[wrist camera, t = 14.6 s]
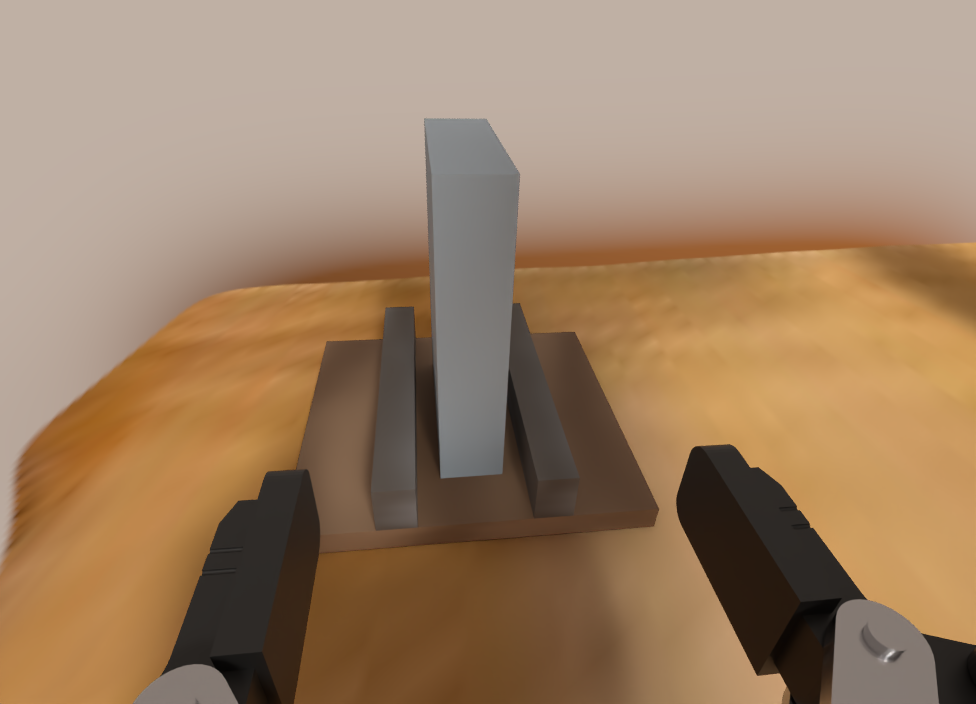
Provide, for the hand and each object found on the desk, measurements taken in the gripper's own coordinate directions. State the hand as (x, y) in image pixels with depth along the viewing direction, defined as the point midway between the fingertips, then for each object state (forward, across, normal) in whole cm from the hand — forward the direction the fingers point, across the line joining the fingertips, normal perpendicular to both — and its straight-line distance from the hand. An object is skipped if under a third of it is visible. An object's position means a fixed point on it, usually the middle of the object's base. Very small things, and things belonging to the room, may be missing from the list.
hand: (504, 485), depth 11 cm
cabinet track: (+12, 0, +9) cm, 15 cm away
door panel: (+12, 0, +8) cm, 14 cm away
